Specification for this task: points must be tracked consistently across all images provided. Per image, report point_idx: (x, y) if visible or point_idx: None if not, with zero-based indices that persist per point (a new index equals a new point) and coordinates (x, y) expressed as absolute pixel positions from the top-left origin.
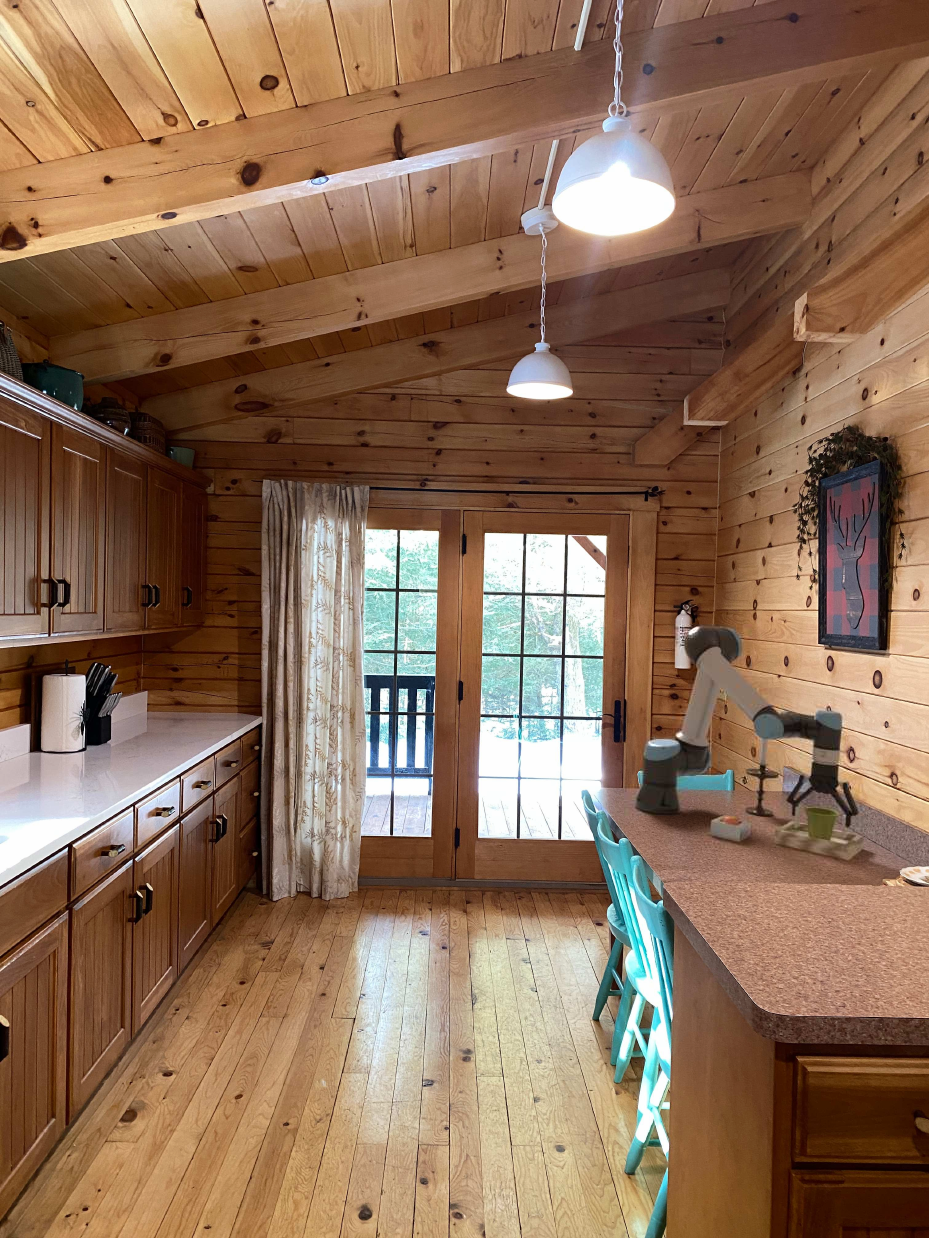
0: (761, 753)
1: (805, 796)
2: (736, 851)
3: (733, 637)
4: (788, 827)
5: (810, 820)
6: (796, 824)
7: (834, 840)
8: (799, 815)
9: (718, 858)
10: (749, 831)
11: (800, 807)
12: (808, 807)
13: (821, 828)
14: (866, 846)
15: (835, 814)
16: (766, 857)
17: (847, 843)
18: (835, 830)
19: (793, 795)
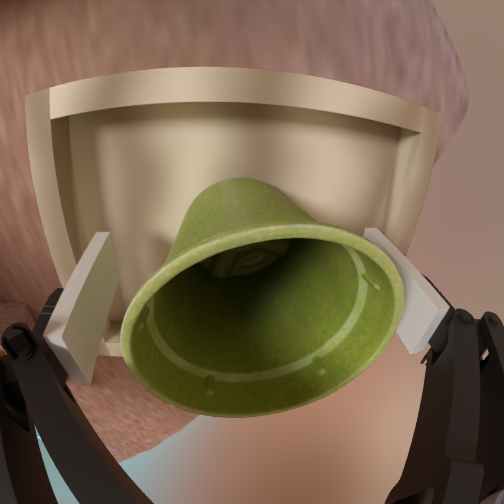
0: None
1: (129, 481)
2: (114, 412)
3: None
4: (77, 262)
5: (204, 353)
6: (113, 291)
7: (308, 183)
8: (91, 291)
9: (130, 439)
10: (20, 318)
11: (68, 329)
12: (127, 334)
13: (268, 325)
14: (409, 51)
15: (379, 277)
16: (172, 411)
17: None
18: (315, 97)
19: (36, 450)
